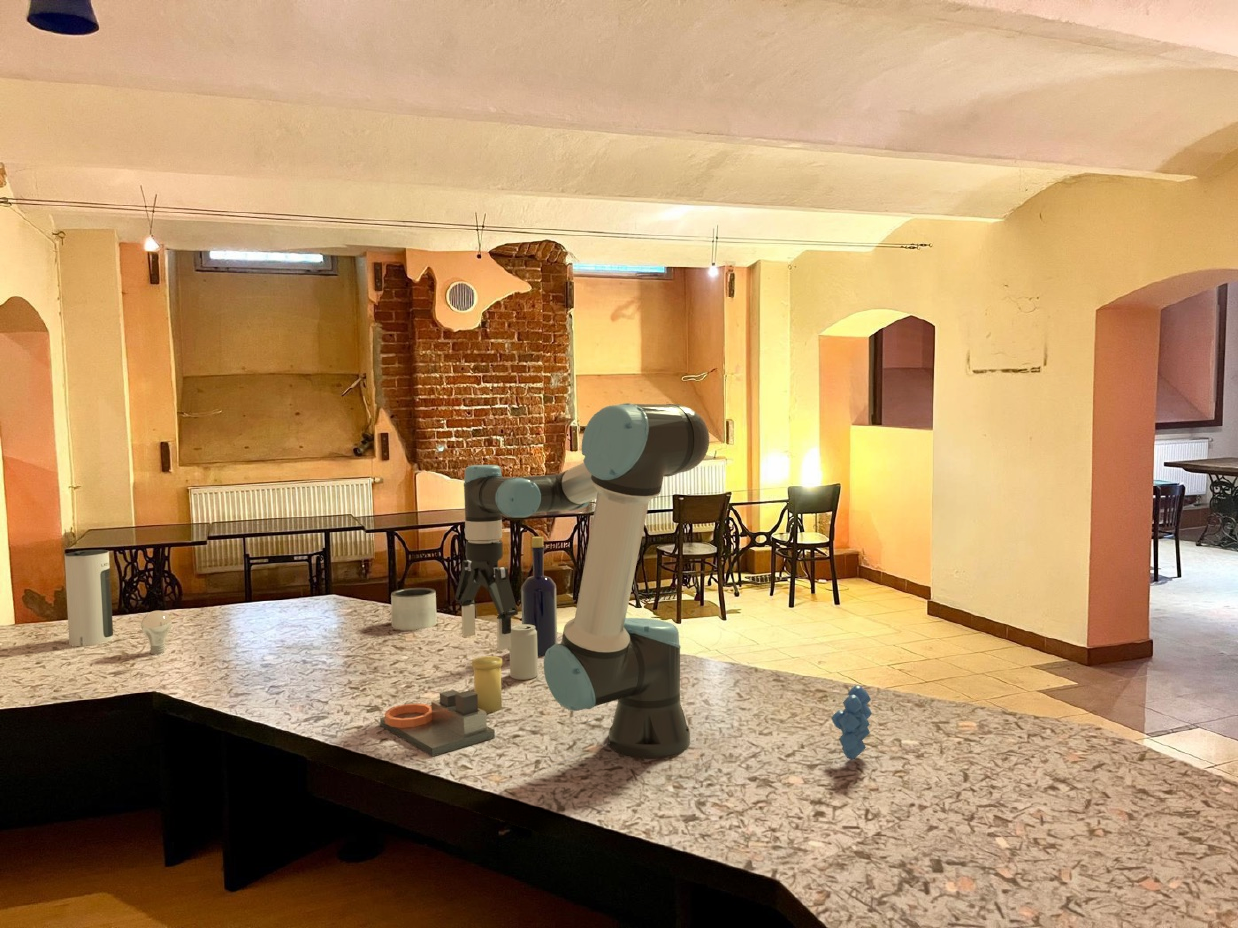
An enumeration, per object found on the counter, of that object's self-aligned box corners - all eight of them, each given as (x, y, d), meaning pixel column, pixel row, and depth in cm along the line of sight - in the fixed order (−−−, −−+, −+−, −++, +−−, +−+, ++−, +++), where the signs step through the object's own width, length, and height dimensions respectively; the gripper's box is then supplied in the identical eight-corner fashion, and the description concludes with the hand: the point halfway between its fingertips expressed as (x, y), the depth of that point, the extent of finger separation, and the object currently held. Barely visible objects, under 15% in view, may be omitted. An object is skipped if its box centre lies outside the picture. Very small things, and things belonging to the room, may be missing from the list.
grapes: (841, 739, 156) (840, 675, 156) (878, 746, 153) (878, 680, 152) (821, 761, 146) (820, 693, 146) (860, 769, 143) (860, 699, 142)
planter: (384, 635, 238) (383, 596, 238) (402, 624, 251) (401, 587, 250) (426, 636, 236) (425, 596, 235) (443, 625, 248) (442, 587, 248)
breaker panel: (494, 737, 160) (494, 711, 160) (432, 756, 152) (431, 728, 151) (439, 709, 176) (438, 686, 176) (380, 725, 167) (379, 700, 167)
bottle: (543, 662, 209) (541, 540, 208) (514, 657, 214) (511, 538, 213) (565, 653, 217) (563, 536, 216) (536, 648, 222) (534, 534, 220)
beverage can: (533, 682, 193) (532, 630, 192) (506, 681, 194) (505, 629, 194) (541, 674, 199) (540, 623, 199) (515, 673, 201) (514, 622, 200)
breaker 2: (478, 717, 160) (477, 693, 160) (464, 721, 158) (463, 697, 158) (469, 713, 163) (469, 690, 162) (455, 717, 161) (455, 693, 160)
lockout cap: (509, 708, 176) (508, 660, 176) (483, 715, 172) (482, 666, 172) (492, 701, 181) (491, 654, 180) (467, 707, 177) (466, 660, 176)
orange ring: (441, 719, 166) (441, 711, 166) (398, 730, 160) (398, 723, 160) (419, 707, 173) (419, 700, 173) (377, 718, 167) (377, 711, 167)
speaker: (98, 651, 226) (93, 553, 225) (59, 651, 227) (54, 554, 225) (121, 640, 237) (117, 547, 236) (84, 641, 237) (80, 548, 236)
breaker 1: (461, 716, 165) (461, 693, 165) (448, 719, 163) (447, 696, 163) (454, 712, 167) (453, 689, 167) (440, 715, 165) (439, 693, 165)
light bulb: (178, 655, 221) (176, 609, 220) (151, 661, 215) (149, 614, 215) (163, 651, 225) (161, 606, 224) (137, 658, 219) (134, 611, 218)
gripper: (534, 545, 168) (535, 651, 169) (468, 532, 187) (470, 627, 188) (502, 549, 163) (503, 658, 164) (437, 535, 182) (439, 633, 183)
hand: (485, 642), depth 176 cm, fingers open, 13 cm apart
